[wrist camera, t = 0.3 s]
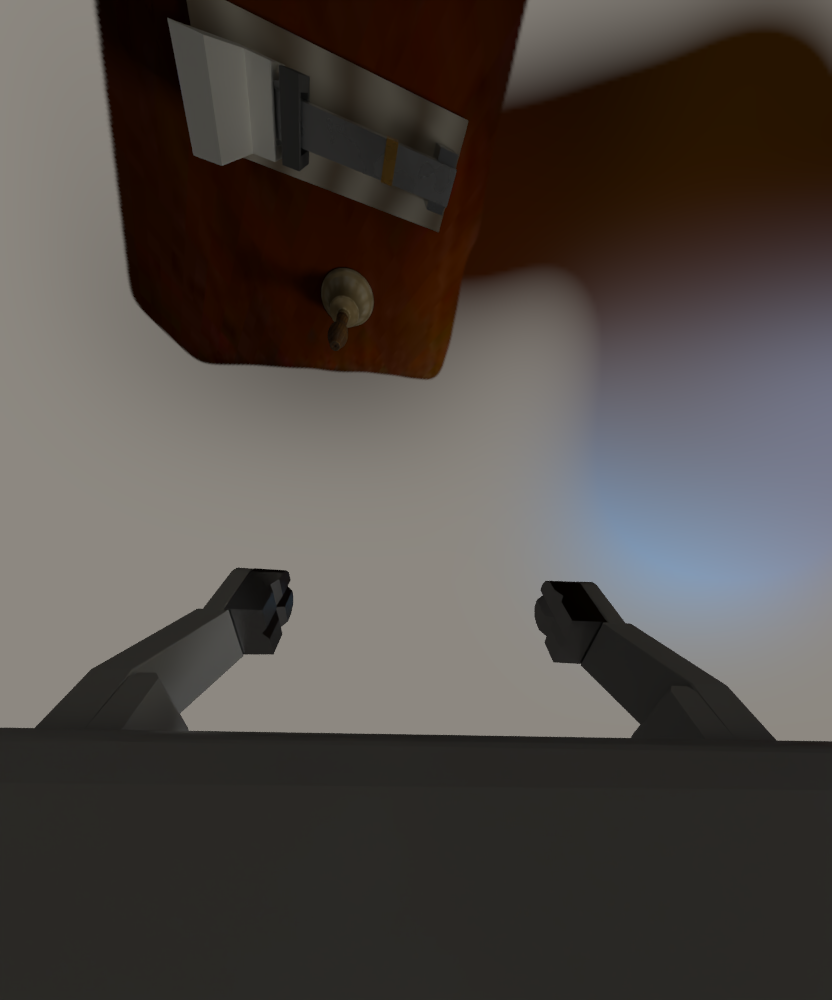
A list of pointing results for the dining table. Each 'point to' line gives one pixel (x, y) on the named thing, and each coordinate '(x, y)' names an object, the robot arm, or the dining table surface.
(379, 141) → the grey clamp fixture
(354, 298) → the hand bell
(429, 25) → the dining table surface
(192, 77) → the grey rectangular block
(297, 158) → the dark grey rubber pad
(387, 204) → the base board
